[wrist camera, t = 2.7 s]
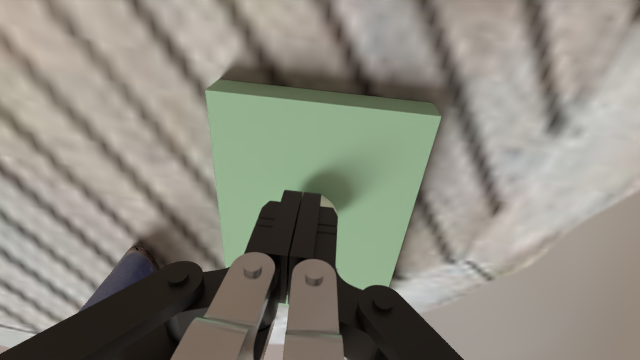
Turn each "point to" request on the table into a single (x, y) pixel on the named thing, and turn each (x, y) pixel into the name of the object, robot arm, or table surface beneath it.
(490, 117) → the table surface
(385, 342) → the robot arm
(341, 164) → the board
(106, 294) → the flask
